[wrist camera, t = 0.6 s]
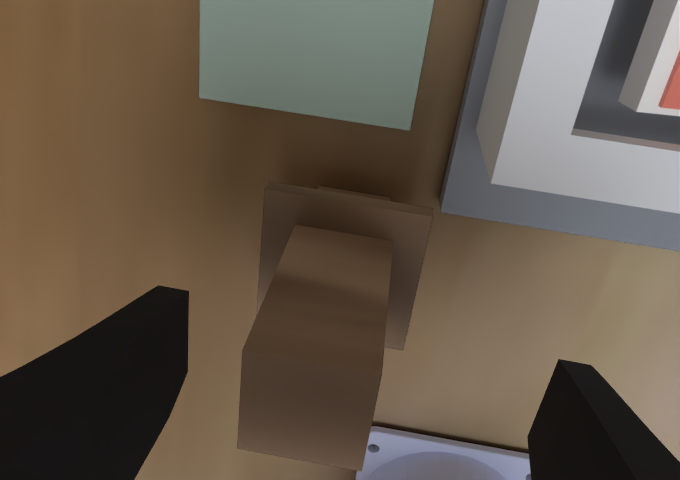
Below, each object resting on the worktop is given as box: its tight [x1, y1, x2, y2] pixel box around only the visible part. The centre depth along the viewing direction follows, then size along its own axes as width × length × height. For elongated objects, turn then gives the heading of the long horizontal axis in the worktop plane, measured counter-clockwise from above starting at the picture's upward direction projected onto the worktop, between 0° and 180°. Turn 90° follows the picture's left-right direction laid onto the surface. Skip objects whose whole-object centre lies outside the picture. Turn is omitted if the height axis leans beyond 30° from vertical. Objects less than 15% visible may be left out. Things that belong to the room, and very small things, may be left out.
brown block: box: [237, 182, 433, 471], centre depth 17 cm, size 5×5×10 cm
